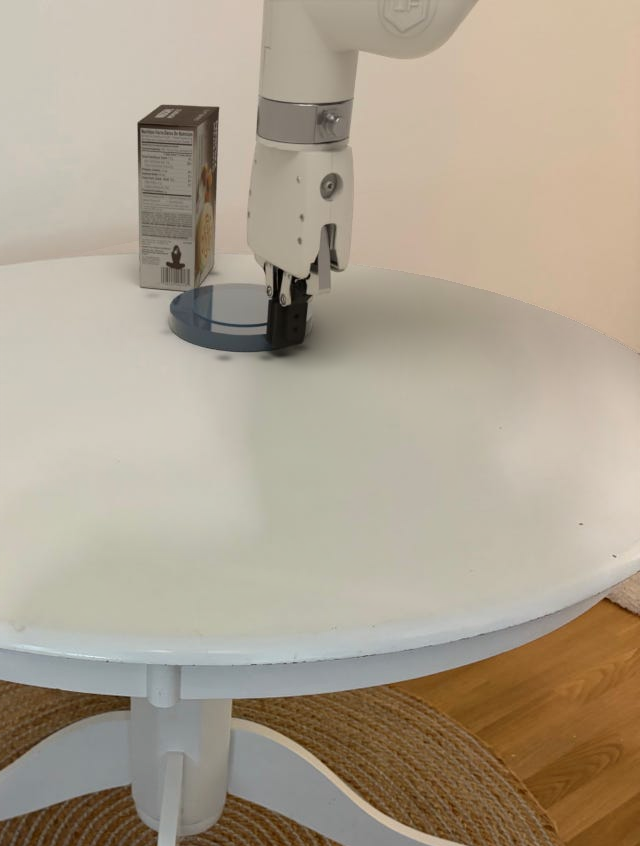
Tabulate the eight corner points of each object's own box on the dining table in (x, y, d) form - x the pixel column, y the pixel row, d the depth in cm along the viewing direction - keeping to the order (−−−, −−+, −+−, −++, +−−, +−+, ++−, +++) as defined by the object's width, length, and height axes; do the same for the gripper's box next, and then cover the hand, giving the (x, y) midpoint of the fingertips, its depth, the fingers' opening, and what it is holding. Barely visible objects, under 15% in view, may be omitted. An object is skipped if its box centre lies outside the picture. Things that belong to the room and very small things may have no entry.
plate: (337, 317, 98) (339, 299, 97) (266, 363, 89) (267, 345, 88) (218, 289, 105) (219, 272, 103) (141, 330, 96) (141, 312, 94)
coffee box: (160, 261, 112) (160, 102, 102) (215, 266, 110) (221, 105, 100) (137, 288, 105) (135, 120, 95) (196, 293, 104) (200, 124, 94)
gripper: (398, 135, 75) (366, 365, 86) (293, 101, 86) (277, 310, 97) (315, 145, 72) (293, 381, 84) (217, 108, 83) (210, 322, 94)
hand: (284, 342), depth 90 cm, fingers closed
